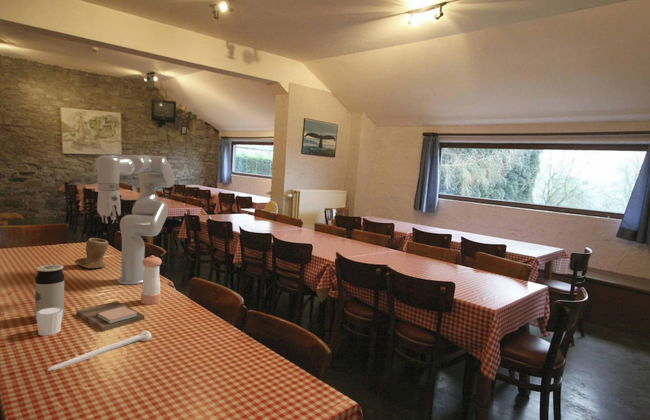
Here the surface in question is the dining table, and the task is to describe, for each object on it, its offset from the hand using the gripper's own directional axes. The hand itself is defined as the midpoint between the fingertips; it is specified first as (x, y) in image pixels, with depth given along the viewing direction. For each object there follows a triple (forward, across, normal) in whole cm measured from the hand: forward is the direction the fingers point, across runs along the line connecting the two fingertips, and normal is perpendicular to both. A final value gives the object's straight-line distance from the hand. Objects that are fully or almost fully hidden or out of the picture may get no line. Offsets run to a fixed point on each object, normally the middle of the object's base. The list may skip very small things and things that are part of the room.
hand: (107, 232), depth 146 cm
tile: (+24, -25, +8) cm, 36 cm away
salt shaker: (+27, -16, -10) cm, 33 cm away
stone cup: (+28, +50, -16) cm, 59 cm away
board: (+27, -21, +8) cm, 35 cm away
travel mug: (+27, -8, +22) cm, 36 cm away
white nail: (+27, -46, +21) cm, 57 cm away
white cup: (+27, -20, +26) cm, 43 cm away
